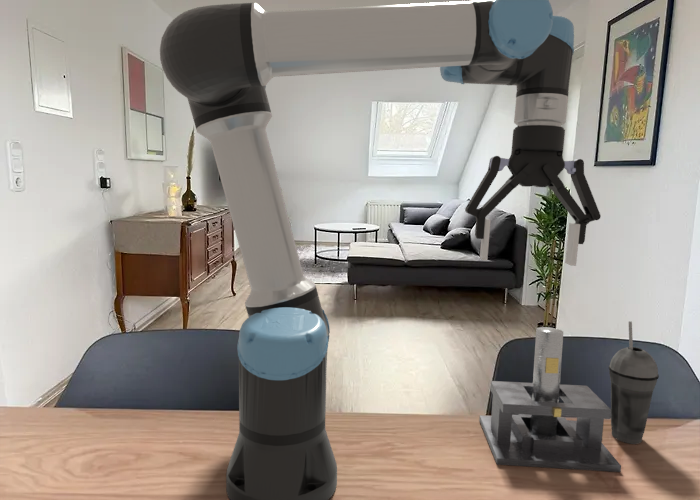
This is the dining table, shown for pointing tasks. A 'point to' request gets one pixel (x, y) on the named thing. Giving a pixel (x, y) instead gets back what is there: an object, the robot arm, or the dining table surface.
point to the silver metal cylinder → (546, 377)
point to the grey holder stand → (548, 451)
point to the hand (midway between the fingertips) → (526, 262)
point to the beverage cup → (631, 391)
